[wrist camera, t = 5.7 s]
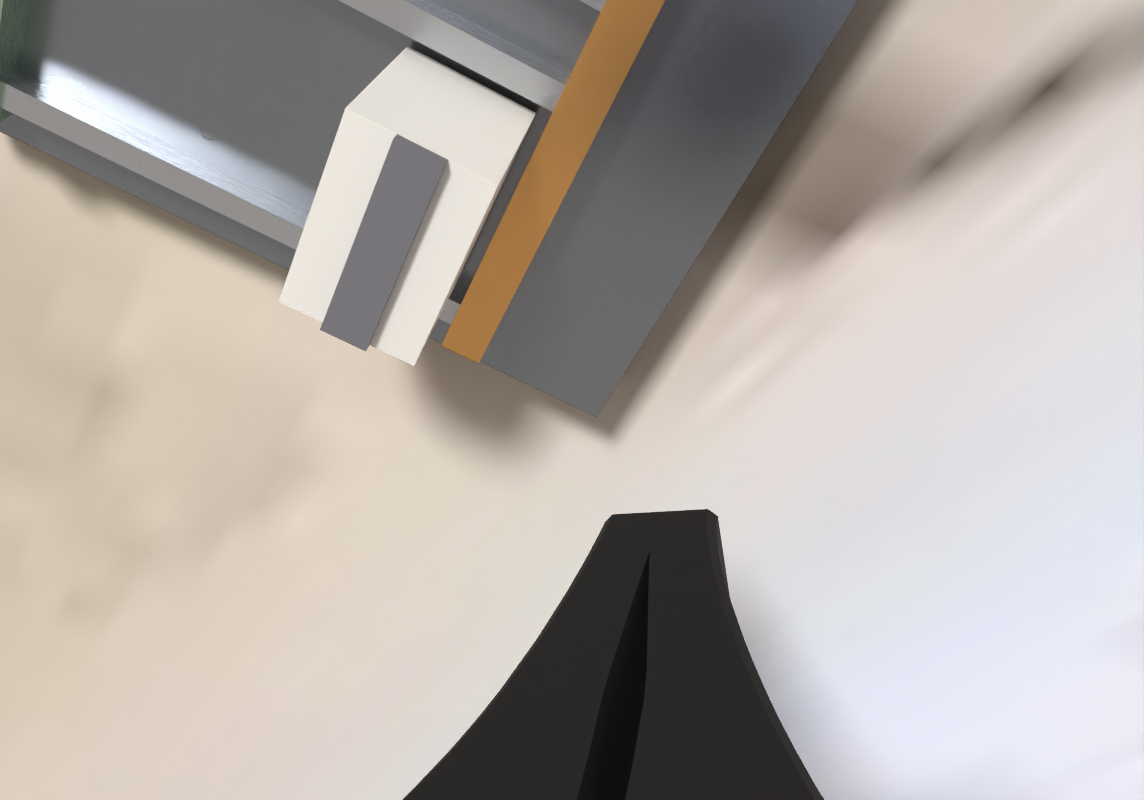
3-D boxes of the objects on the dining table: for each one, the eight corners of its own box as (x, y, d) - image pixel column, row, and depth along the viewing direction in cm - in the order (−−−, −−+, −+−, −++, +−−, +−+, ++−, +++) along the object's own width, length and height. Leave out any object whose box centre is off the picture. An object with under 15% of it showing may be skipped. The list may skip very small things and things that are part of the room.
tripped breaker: (536, 113, 17) (495, 190, 15) (459, 277, 19) (410, 372, 17) (407, 46, 17) (340, 111, 14) (343, 220, 19) (273, 307, 16)
